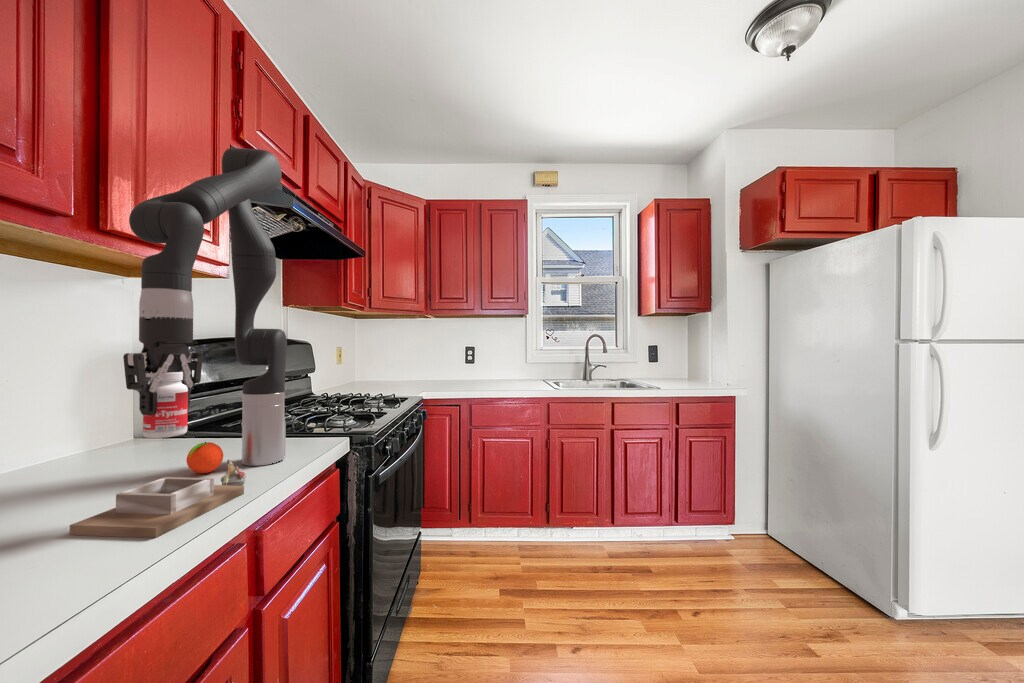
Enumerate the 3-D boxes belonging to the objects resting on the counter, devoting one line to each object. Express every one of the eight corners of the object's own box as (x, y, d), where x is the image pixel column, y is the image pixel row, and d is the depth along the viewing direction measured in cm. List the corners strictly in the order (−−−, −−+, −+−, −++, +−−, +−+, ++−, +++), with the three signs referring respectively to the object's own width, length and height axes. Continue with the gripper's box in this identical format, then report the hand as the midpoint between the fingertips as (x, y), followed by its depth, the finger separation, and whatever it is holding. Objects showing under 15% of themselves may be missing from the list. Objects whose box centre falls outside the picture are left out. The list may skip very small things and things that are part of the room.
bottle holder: (176, 491, 88) (176, 468, 88) (244, 493, 87) (244, 470, 87) (69, 534, 68) (70, 505, 68) (155, 537, 67) (156, 508, 67)
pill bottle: (152, 440, 73) (152, 373, 73) (136, 436, 77) (136, 372, 77) (194, 433, 79) (194, 371, 79) (177, 430, 82) (178, 370, 82)
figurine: (232, 480, 95) (231, 453, 94) (252, 481, 94) (251, 455, 93) (214, 492, 89) (212, 464, 89) (235, 493, 89) (233, 465, 88)
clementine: (203, 479, 96) (203, 446, 96) (174, 478, 96) (174, 445, 97) (230, 469, 104) (230, 439, 104) (203, 468, 104) (203, 438, 104)
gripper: (180, 318, 85) (179, 405, 85) (106, 313, 71) (105, 418, 71) (217, 318, 85) (216, 406, 85) (150, 313, 70) (149, 418, 70)
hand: (166, 411), depth 78 cm, fingers closed on pill bottle, 6 cm apart
